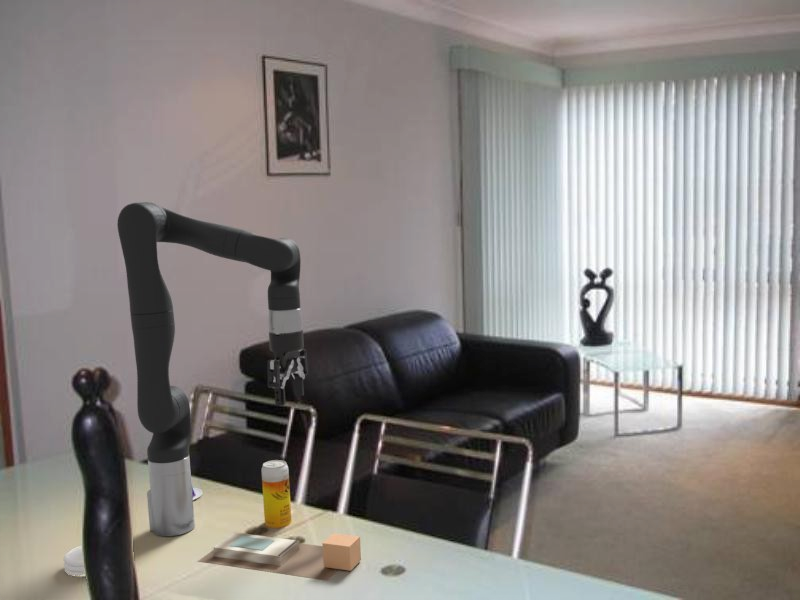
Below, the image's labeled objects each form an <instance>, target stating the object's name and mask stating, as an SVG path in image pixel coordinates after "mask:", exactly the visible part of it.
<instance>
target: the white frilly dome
mask: <svg viewBox="0 0 800 600" xmlns="http://www.w3.org/2000/svg"><path fill="white" fill-rule="evenodd" d="M63 565H64V566H63V567H64V572H66V573H67V574H69V575H75V576H78V575H79V576H80V575H83V574H85V572H84V565H83V556H82V545H80V546H76V547H74V548H72V549H71V550H69V551H68V552H67V553H66V554H64V557H63ZM66 573H65V574H66ZM67 574H66V575H67ZM69 575H68V576H69Z"/></svg>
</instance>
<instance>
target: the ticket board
mask: <svg viewBox="0 0 800 600" xmlns="http://www.w3.org/2000/svg"><path fill="white" fill-rule="evenodd" d="M212 548H213V549H212V550H211V551H210V552H208V553H207V554H206V555H204V556H203V557H201V558H200V559H199V560H197V562H199V563H207V564H213V565H218V566H219V565H220V566H226V567H233V568H239V569H248V570H253V571H261V572H267V573H275V574H280V575H281V574H282V575H286V576H287V575H289V576H295V577H302V578H308V579H315V580H321V581H329V579H330V578H331V577H332V576H333V575H335V574H336V573H337V571H339V569H335V568H328V567H324V563H323V545H316V544H310V543H309V544H307V543H303V542H302V543H300V541H299V540H297V539H287V538H281V537H273V536H264V535H258V534H257V535H256V534H251V533H249V534H248V533H243V532H233V533H231V534H230V535H229V536H227V537H226V538H224V539H223V540H221V541H220V542H219V543H217V544H216V545H214V546H213V547H212Z"/></svg>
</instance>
